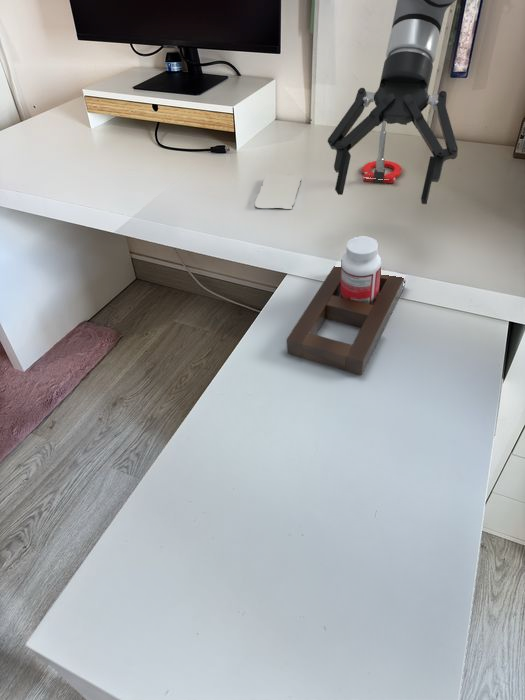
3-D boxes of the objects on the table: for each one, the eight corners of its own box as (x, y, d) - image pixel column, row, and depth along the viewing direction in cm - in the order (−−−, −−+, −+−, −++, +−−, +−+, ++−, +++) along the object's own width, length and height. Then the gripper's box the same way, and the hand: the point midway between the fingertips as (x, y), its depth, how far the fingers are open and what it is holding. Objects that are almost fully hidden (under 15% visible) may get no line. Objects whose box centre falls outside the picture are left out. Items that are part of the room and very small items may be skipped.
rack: (404, 287, 85) (406, 273, 83) (361, 375, 72) (362, 361, 70) (338, 272, 89) (338, 258, 87) (287, 353, 77) (286, 339, 75)
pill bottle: (361, 284, 86) (365, 228, 78) (385, 303, 82) (392, 246, 75) (332, 298, 84) (333, 242, 77) (355, 318, 81) (359, 261, 73)
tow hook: (365, 164, 116) (358, 182, 110) (369, 105, 107) (362, 121, 101) (403, 166, 114) (397, 185, 108) (410, 106, 105) (405, 122, 99)
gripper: (491, 76, 79) (461, 212, 80) (336, 72, 87) (311, 195, 88) (496, 49, 71) (463, 198, 73) (327, 47, 80) (300, 181, 81)
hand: (380, 197), depth 81 cm, fingers open, 13 cm apart
